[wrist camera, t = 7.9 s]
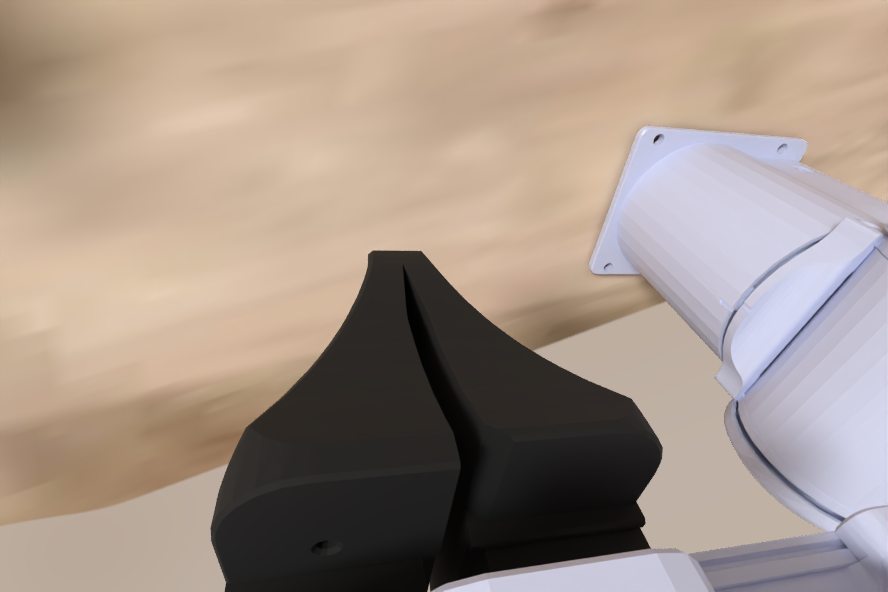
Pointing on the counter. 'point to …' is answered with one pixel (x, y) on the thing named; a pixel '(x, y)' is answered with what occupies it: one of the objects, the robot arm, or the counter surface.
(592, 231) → the counter surface
